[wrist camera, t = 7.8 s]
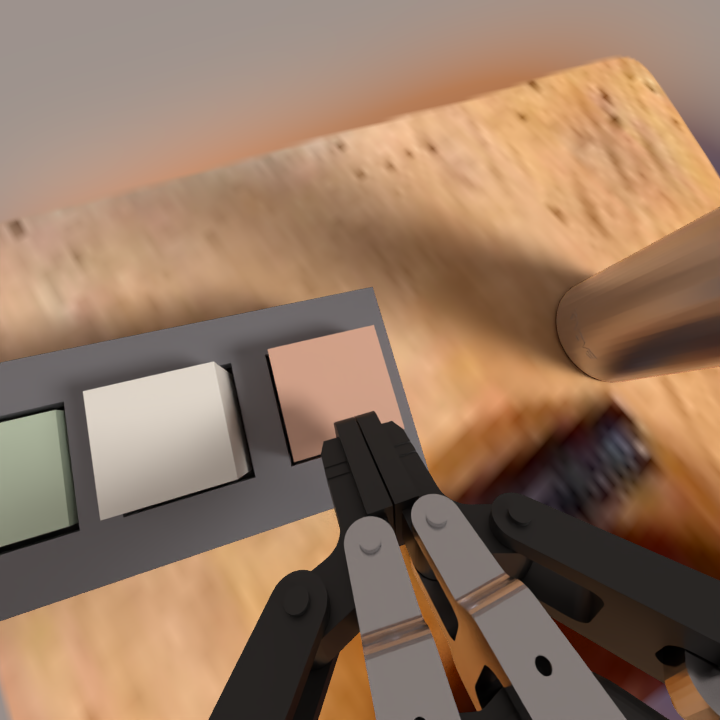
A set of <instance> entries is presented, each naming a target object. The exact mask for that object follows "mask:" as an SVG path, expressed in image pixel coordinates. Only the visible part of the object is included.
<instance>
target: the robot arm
mask: <svg viewBox="0 0 720 720" xmlns="http://www.w3.org/2000/svg"><path fill="white" fill-rule="evenodd" d="M556 324H557V332H558V335H559V339H560V342H561V344H562V346H563V348H564V350H565V352H566V354H567V355H568V356H569V358H570V359H571V360H572V362H573V363H574V364H575V365H576V366H577V367H579V368H580V369H581V370H582V371H583V372H585V373H586V374H588V375H590V376H591V377H594V378H596V379H599V380H601V381H606V382H623V381H629V380H636V379H642V378H648V377H655V376H661V375H669V374H675V373H682V372H688V371H694V370H701V369H707V368H713V367H720V207H718V208H716V209H715V210H713V211H711V212H709V213H707V214H705V215H704V216H702V217H700V218H698V219H696V220H694V221H693V222H691V223H689V224H687V225H685V226H683V227H682V228H680V229H678V230H676V231H674V232H672V233H671V234H669V235H667V236H665V237H663V238H661V239H660V240H658V241H656V242H654V243H652V244H651V245H649V246H647V247H645V248H643V249H641V250H640V251H638V252H636V253H634V254H632V255H630V256H629V257H627V258H625V259H623V260H621V261H619V262H618V263H615V264H614V265H612V266H610V267H608V268H606V269H604V270H603V271H601V272H599V273H597V274H595V275H594V276H592V277H590V278H588V279H586V280H584V281H583V282H581V283H579V284H577V285H575V286H574V287H572V288H571V289H570V290H569V291H567V292H566V293H565V295H564V296H563V298H562V299H561V301H560V304H559V307H558V309H557V317H556ZM334 428H335V434H336V438H333V439H330V440H326V441H323V446H322V451H321V458H322V462H323V466H324V471H325V475H326V479H327V483H328V487H329V490H330V494H331V498H332V502H333V505H334V509H335V513H336V516H337V520H338V524H339V527H340V537H339V541H338V543H337V546H336V548H335V549H334V551H333V552H332V553H331V555H330V556H329V557H328V558H327V559H326V560H324V561H323V562H322V563H321V564H319V565H318V566H317V567H316V568H315V569H313V570H312V571H308V570H298V571H295V572H292V573H290V574H288V575H287V576H285V577H284V578H283V579H282V580H281V581H280V582H279V583H278V584H277V585H276V587H275V589H274V590H273V592H272V594H271V596H270V598H269V600H268V602H267V604H266V606H265V608H264V610H263V612H262V614H261V616H260V618H259V620H258V622H257V624H256V626H255V628H254V630H253V632H252V634H251V636H250V638H249V640H248V642H247V644H246V646H245V648H244V650H243V652H242V654H241V656H240V658H239V660H238V662H237V664H236V666H235V668H234V670H233V672H232V674H231V676H230V678H229V680H228V682H227V684H226V686H225V688H224V690H223V692H222V694H221V696H220V698H219V700H218V702H217V704H216V706H215V708H214V710H213V712H212V714H211V716H210V718H209V720H318V718H319V715H320V712H321V708H322V705H323V702H324V699H325V696H326V693H327V690H328V687H329V683H330V680H331V677H332V674H333V671H334V668H335V665H336V661H337V658H338V655H339V652H340V651H341V650H342V649H343V648H344V647H345V646H346V645H347V644H348V643H349V642H350V641H351V640H352V639H353V638H354V637H355V636H356V635H357V634H358V633H359V632H360V633H361V639H362V645H363V651H364V657H365V662H366V668H367V673H368V678H369V684H370V689H371V694H372V700H373V705H374V710H375V715H376V720H669V719H667V718H666V717H664V716H663V715H661V714H660V713H658V712H657V711H655V710H654V709H652V708H651V707H649V706H648V705H646V704H645V703H643V702H642V701H640V700H639V699H637V698H636V697H634V696H633V695H631V694H630V693H628V692H627V691H625V690H624V689H622V688H621V687H619V686H618V685H616V684H614V683H613V682H611V681H610V680H608V679H606V678H604V677H602V676H600V675H598V674H596V673H594V672H591V671H590V670H589V668H588V667H587V666H586V664H585V663H584V662H583V660H582V659H581V658H580V656H579V655H578V654H577V652H576V651H575V649H574V648H573V647H572V645H571V644H570V643H569V641H568V640H567V639H566V637H565V636H564V635H563V633H562V632H561V631H560V629H559V628H558V627H557V625H556V624H555V623H554V621H553V620H552V619H551V617H552V618H554V619H556V620H557V621H559V622H561V623H563V624H564V625H566V626H568V627H569V628H571V629H573V630H574V631H576V632H578V633H580V634H581V635H583V636H585V637H586V638H588V639H590V640H591V641H593V642H595V643H597V644H598V645H600V646H602V647H603V648H605V649H607V650H609V651H610V652H612V653H614V654H615V655H617V656H619V657H620V658H622V659H624V660H626V661H627V662H629V663H631V664H632V665H634V666H636V667H637V668H639V669H641V670H643V671H644V672H646V673H648V674H649V675H651V676H653V677H654V678H656V679H658V680H660V681H661V682H663V683H665V684H666V688H667V690H668V693H669V695H670V697H671V701H672V704H673V706H674V708H675V709H676V710H677V712H678V713H679V715H680V716H681V717H682V718H684V719H685V720H720V581H719V580H716V579H714V578H712V577H710V576H707V575H705V574H703V573H700V572H698V571H696V570H693V569H691V568H689V567H687V566H684V565H682V564H680V563H677V562H675V561H673V560H671V559H668V558H666V557H664V556H661V555H659V554H657V553H655V552H652V551H650V550H648V549H645V548H643V547H641V546H639V545H636V544H634V543H632V542H629V541H627V540H625V539H622V538H620V537H618V536H616V535H613V534H611V533H609V532H606V531H604V530H602V529H600V528H597V527H595V526H593V525H590V524H588V523H586V522H584V521H581V520H579V519H577V518H574V517H572V516H570V515H568V514H565V513H563V512H561V511H558V510H556V509H554V508H551V507H549V506H547V505H545V504H542V503H540V502H538V501H535V500H533V499H531V498H529V497H526V496H524V495H521V494H517V493H505V494H502V495H500V496H498V497H497V498H496V499H495V500H494V502H493V504H479V505H468V504H461V503H458V502H455V501H453V500H451V499H449V498H448V497H446V496H445V495H444V494H443V493H442V492H441V491H440V490H439V488H438V487H437V485H436V483H435V482H434V480H433V478H432V476H431V475H430V473H429V471H428V470H427V468H426V466H425V465H424V463H423V461H422V460H421V458H420V456H419V455H418V453H417V452H416V450H415V448H414V446H413V444H412V443H411V442H410V439H409V438H408V436H407V434H406V433H405V431H404V429H403V428H401V427H400V426H399V425H397V424H396V423H394V422H393V421H389V422H386V423H383V424H381V422H380V420H379V418H378V416H377V414H376V412H375V411H371V412H368V413H364V414H361V415H357V416H354V417H351V418H347V419H344V420H340V421H337V422H334ZM404 544H405V545H406V548H407V550H408V552H409V555H410V557H411V566H412V570H413V573H414V575H415V577H416V579H417V581H418V583H419V585H420V587H421V589H422V591H423V593H424V595H425V597H426V599H427V601H428V603H429V605H430V607H431V609H432V611H433V613H434V615H435V617H436V619H437V621H438V623H439V625H440V627H441V629H442V631H443V633H444V635H445V637H446V639H447V642H448V644H449V647H450V650H451V653H452V657H453V660H454V663H455V665H456V668H457V670H458V673H459V675H460V677H461V679H462V681H463V683H464V685H465V687H466V690H467V692H468V694H469V696H470V698H471V700H472V702H473V704H474V706H475V708H476V710H477V712H466V713H458V710H457V707H456V704H455V701H454V698H453V695H452V692H451V689H450V686H449V683H448V680H447V677H446V674H445V671H444V668H443V665H442V662H441V659H440V656H439V653H438V650H437V647H436V645H435V642H434V639H433V636H432V634H431V632H430V629H429V627H428V625H427V624H426V623H425V621H424V619H423V617H422V614H421V612H420V609H419V606H418V603H417V599H416V596H415V593H414V590H413V587H412V584H411V581H410V578H409V575H408V572H407V569H406V566H405V563H404V560H403V557H402V554H401V551H400V548H399V546H401V545H404ZM550 616H551V617H550Z"/></svg>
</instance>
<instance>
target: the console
mask: <svg viewBox="0 0 720 720" xmlns="http://www.w3.org/2000/svg"><path fill="white" fill-rule="evenodd" d="M371 325H374V327H375V330H376V334H377V337H378V340H379V344H380V347H381V350H382V354H383V357H384V361H385V364H386V367H387V371H388V374H389V377H390V381H391V384H392V387H393V391H394V394H395V397H396V401H397V404H398V407H399V411H400V414H401V418H402V421H403V424H404V428H405V429H404V431H405V433H406V434H407V436H408V438H409V439H410V442H411V443H412V444H413V446H414V448H415V450H416V452H417V453H418V455H419V456H420V458H421V460H422V461H423V463H424V465H425V466H426V468H427V464H426V461H425V458H424V455H423V451H422V448H421V445H420V441H419V438H418V435H417V431H416V428H415V425H414V422H413V418H412V415H411V412H410V408H409V405H408V402H407V399H406V395H405V392H404V389H403V385H402V382H401V379H400V376H399V372H398V369H397V366H396V362H395V359H394V356H393V352H392V349H391V346H390V343H389V339H388V336H387V333H386V329H385V326H384V323H383V320H382V316H381V313H380V310H379V306H378V303H377V300H376V296H375V293H374V290H373V287H370V288H365V289H360V290H355V291H350V292H345V293H340V294H335V295H330V296H325V297H320V298H316V299H311V300H306V301H301V302H296V303H291V304H286V305H281V306H276V307H271V308H266V309H261V310H257V311H252V312H247V313H242V314H237V315H232V316H227V317H222V318H217V319H212V320H207V321H202V322H198V323H193V324H188V325H183V326H178V327H173V328H168V329H163V330H158V331H153V332H148V333H143V334H138V335H134V336H129V337H124V338H119V339H114V340H109V341H104V342H99V343H94V344H89V345H84V346H79V347H75V348H70V349H65V350H60V351H55V352H50V353H45V354H40V355H35V356H30V357H25V358H20V359H16V360H11V361H6V362H1V363H0V423H1V422H6V421H10V420H14V419H18V418H23V417H27V416H31V415H36V414H40V413H44V412H48V411H53V410H63V411H65V416H66V424H67V432H68V440H69V448H70V456H71V464H72V472H73V480H74V488H75V496H76V504H77V512H78V520H79V523H76V524H74V525H71V526H68V527H65V528H62V529H58V530H55V531H52V532H48V533H45V534H42V535H38V536H35V537H32V538H28V539H25V540H22V541H18V542H15V543H12V544H8V545H5V546H2V547H0V621H2V620H5V619H8V618H11V617H14V616H17V615H20V614H23V613H26V612H29V611H32V610H34V609H37V608H40V607H43V606H46V605H49V604H52V603H55V602H58V601H61V600H64V599H67V598H70V597H73V596H76V595H79V594H82V593H85V592H88V591H91V590H94V589H96V588H99V587H102V586H105V585H108V584H111V583H114V582H117V581H120V580H123V579H126V578H129V577H132V576H135V575H138V574H141V573H144V572H147V571H150V570H153V569H156V568H158V567H161V566H164V565H167V564H170V563H173V562H176V561H179V560H182V559H185V558H188V557H191V556H194V555H197V554H200V553H203V552H206V551H209V550H212V549H215V548H217V547H220V546H223V545H226V544H229V543H232V542H235V541H238V540H241V539H244V538H247V537H250V536H253V535H256V534H259V533H262V532H265V531H268V530H271V529H274V528H277V527H279V526H282V525H285V524H288V523H291V522H294V521H297V520H300V519H303V518H306V517H309V516H312V515H315V514H318V513H321V512H324V511H327V510H330V509H333V508H334V505H333V502H332V498H331V494H330V490H329V487H328V483H327V479H326V475H325V471H324V466H323V462H322V458H321V454H320V455H316V456H313V457H310V458H306V459H303V460H300V461H296V462H294V459H293V455H292V450H291V446H290V442H289V438H288V434H287V429H286V425H285V421H284V417H283V413H282V408H281V404H280V400H279V396H278V392H277V387H276V383H275V379H274V375H273V370H272V366H271V362H270V358H269V354H268V349H270V348H275V347H279V346H284V345H288V344H292V343H297V342H301V341H306V340H310V339H314V338H319V337H323V336H327V335H332V334H336V333H341V332H345V331H349V330H354V329H358V328H362V327H367V326H371ZM213 361H214V362H215V363H216V364H218V365H219V366H221V367H222V368H223V369H225V370H226V371H227V372H229V373H230V374H232V375H233V378H234V383H235V388H236V392H237V397H238V401H239V406H240V411H241V415H242V420H243V425H244V429H245V434H246V439H247V443H248V448H249V452H250V457H251V462H252V466H253V469H252V470H251V471H249V472H248V473H246V474H245V475H243V476H242V477H240V478H239V479H237V480H233V481H230V482H227V483H224V484H220V485H217V486H214V487H210V488H207V489H204V490H200V491H197V492H194V493H190V494H187V495H184V496H180V497H177V498H174V499H171V500H167V501H164V502H161V503H157V504H154V505H151V506H147V507H144V508H141V509H137V510H134V511H131V512H127V513H124V514H121V515H118V516H114V517H111V518H108V519H104V520H101V521H100V515H99V507H98V500H97V492H96V485H95V478H94V470H93V463H92V455H91V448H90V441H89V433H88V426H87V419H86V411H85V404H84V396H83V391H86V390H91V389H95V388H100V387H104V386H108V385H113V384H117V383H121V382H126V381H130V380H135V379H139V378H143V377H148V376H152V375H157V374H161V373H165V372H170V371H174V370H178V369H183V368H187V367H192V366H196V365H200V364H205V363H209V362H213ZM427 470H428V468H427Z"/></svg>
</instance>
